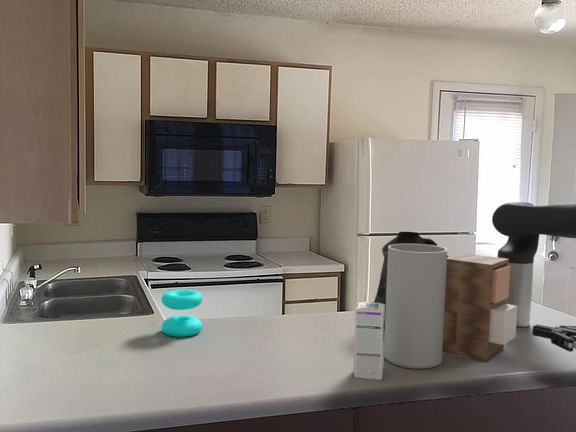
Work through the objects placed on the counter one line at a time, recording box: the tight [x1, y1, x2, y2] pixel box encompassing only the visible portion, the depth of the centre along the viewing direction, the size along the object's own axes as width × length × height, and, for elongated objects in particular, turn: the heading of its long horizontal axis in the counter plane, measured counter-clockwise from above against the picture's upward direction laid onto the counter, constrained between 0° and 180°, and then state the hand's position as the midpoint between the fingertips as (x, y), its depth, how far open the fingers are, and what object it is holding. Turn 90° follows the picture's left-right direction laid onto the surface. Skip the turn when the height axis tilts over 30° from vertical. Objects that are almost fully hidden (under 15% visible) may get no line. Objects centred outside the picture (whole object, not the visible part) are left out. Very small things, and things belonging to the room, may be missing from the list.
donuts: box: [160, 289, 203, 338], centre depth 145 cm, size 10×10×10 cm
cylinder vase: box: [384, 244, 448, 370], centre depth 128 cm, size 12×12×25 cm
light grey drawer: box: [489, 303, 517, 345], centre depth 131 cm, size 6×8×7 cm
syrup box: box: [353, 301, 385, 381], centre depth 119 cm, size 6×6×14 cm
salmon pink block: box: [491, 265, 510, 303], centre depth 132 cm, size 6×8×7 cm
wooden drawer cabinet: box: [442, 252, 509, 363], centre depth 134 cm, size 11×11×22 cm
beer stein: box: [373, 231, 450, 332], centre depth 155 cm, size 16×19×25 cm
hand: (533, 329), depth 126 cm, fingers closed
